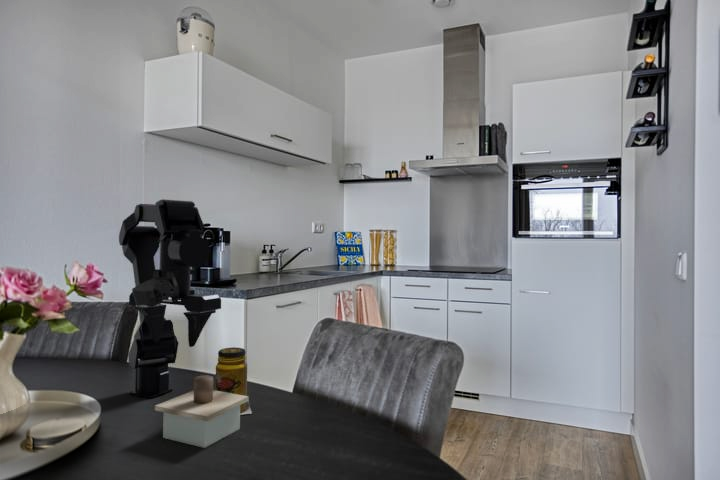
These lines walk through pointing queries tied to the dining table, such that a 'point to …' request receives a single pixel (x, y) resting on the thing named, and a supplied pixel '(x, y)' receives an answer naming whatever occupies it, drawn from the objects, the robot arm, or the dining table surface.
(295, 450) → the dining table surface
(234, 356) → the condiment
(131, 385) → the dining table surface
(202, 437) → the mint green open box
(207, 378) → the lid
